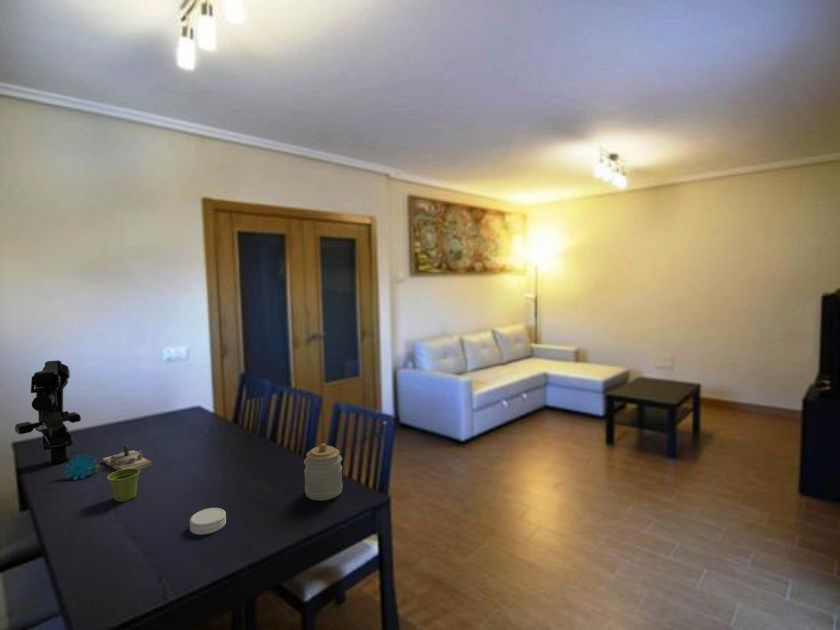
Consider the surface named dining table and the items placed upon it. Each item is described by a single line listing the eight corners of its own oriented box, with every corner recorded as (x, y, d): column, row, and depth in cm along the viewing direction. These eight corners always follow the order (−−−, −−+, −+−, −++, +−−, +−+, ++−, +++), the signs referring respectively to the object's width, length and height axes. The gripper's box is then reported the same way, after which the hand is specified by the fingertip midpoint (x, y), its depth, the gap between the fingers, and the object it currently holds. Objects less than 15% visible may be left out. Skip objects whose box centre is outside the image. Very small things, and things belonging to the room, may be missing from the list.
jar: (349, 487, 163) (348, 439, 162) (330, 504, 151) (329, 452, 150) (317, 481, 168) (316, 435, 166) (297, 498, 155) (295, 448, 154)
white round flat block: (188, 538, 132) (188, 527, 132) (191, 521, 141) (190, 511, 141) (226, 531, 136) (225, 519, 136) (226, 515, 145) (225, 504, 145)
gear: (58, 478, 168) (70, 452, 174) (63, 484, 172) (75, 458, 178) (92, 479, 170) (102, 453, 176) (96, 485, 174) (106, 460, 181)
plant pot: (106, 507, 150) (105, 482, 149) (111, 495, 158) (109, 471, 157) (140, 500, 154) (138, 476, 153) (142, 489, 162) (141, 465, 161)
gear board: (101, 462, 186) (100, 444, 185) (131, 453, 195) (130, 436, 194) (122, 474, 174) (121, 455, 173) (153, 464, 183) (152, 446, 182)
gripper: (22, 414, 159) (25, 457, 161) (84, 402, 175) (87, 441, 176) (12, 409, 166) (16, 450, 167) (74, 397, 181) (76, 435, 182)
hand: (50, 444), depth 173 cm, fingers closed
